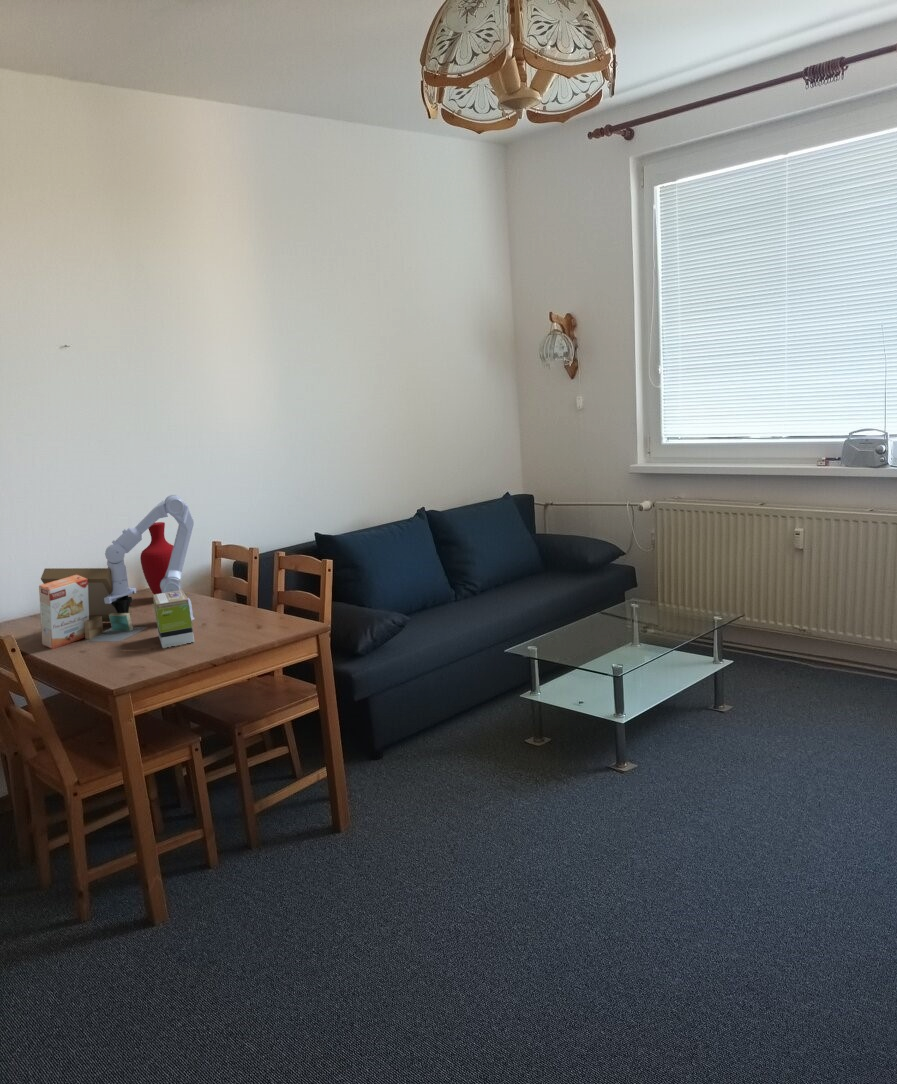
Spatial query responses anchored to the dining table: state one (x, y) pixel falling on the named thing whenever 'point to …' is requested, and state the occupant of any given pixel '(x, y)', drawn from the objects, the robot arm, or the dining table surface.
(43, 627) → the cracker box
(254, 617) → the dining table surface
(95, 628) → the tile plain
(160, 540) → the vase
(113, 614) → the tile teal
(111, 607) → the photo frame
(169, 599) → the tea box
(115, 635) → the felt mat
